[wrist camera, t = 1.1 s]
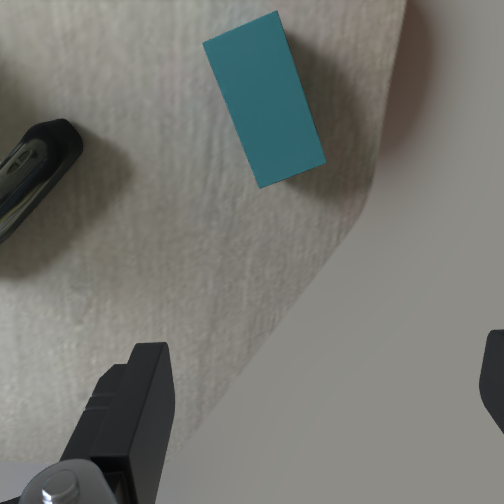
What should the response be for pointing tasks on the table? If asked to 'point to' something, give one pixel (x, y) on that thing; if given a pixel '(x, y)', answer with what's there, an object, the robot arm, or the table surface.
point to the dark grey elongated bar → (35, 170)
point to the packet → (266, 99)
